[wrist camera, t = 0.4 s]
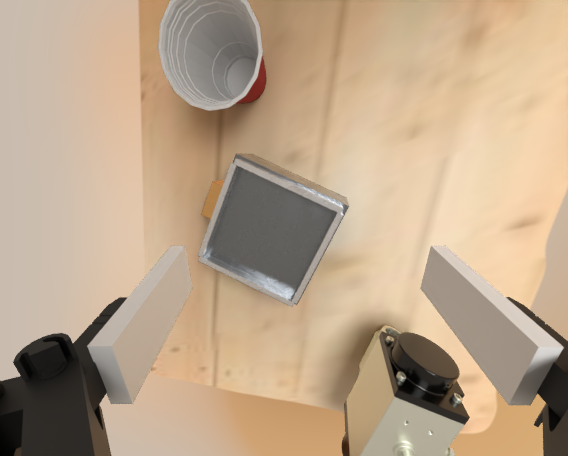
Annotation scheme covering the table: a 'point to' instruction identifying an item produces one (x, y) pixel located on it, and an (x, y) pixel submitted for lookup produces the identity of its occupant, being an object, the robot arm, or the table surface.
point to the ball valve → (403, 399)
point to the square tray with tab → (269, 227)
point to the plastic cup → (212, 52)
